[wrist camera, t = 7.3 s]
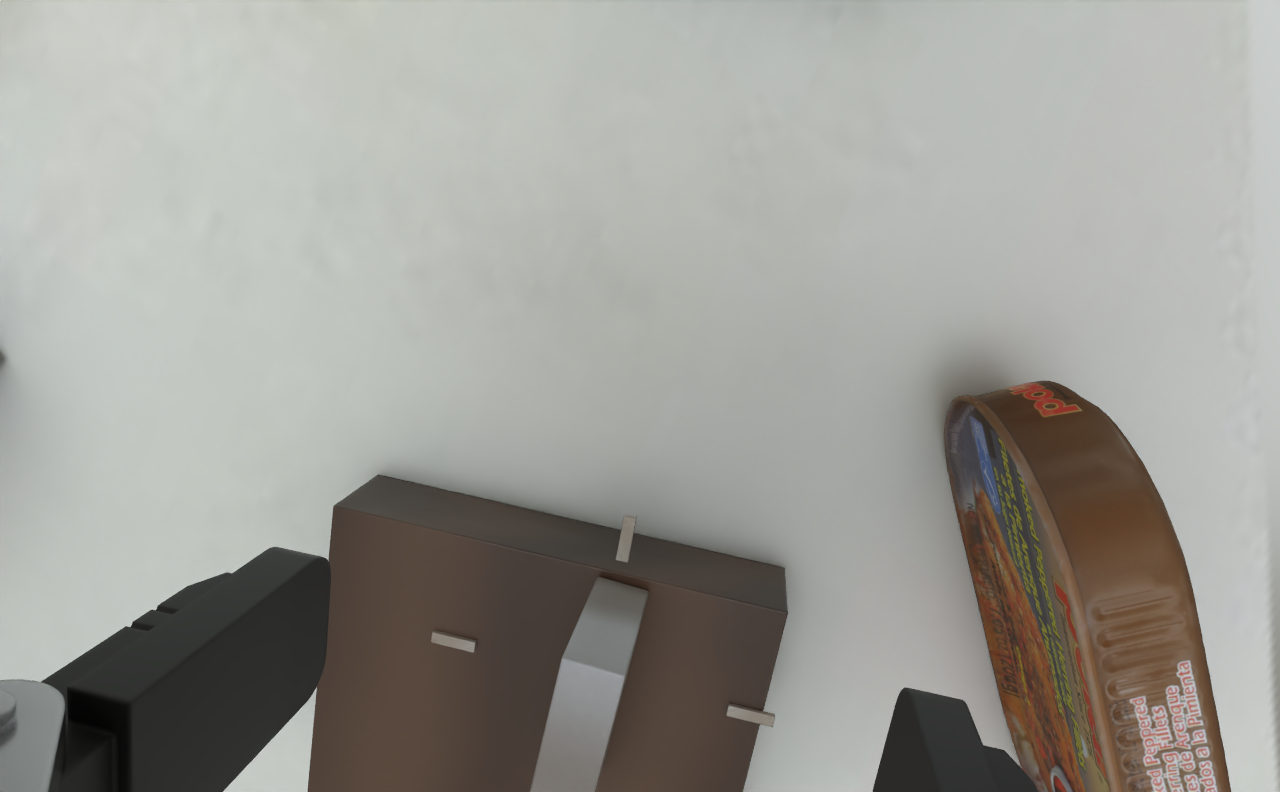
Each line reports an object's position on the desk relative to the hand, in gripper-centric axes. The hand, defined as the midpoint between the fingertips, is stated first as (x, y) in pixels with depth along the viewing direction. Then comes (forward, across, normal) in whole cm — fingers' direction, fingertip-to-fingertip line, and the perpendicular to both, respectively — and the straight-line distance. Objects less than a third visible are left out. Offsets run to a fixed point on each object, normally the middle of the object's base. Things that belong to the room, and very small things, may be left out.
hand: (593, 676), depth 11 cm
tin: (+15, -11, +4) cm, 19 cm away
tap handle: (+12, +1, +8) cm, 14 cm away
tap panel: (+15, +3, +10) cm, 18 cm away
